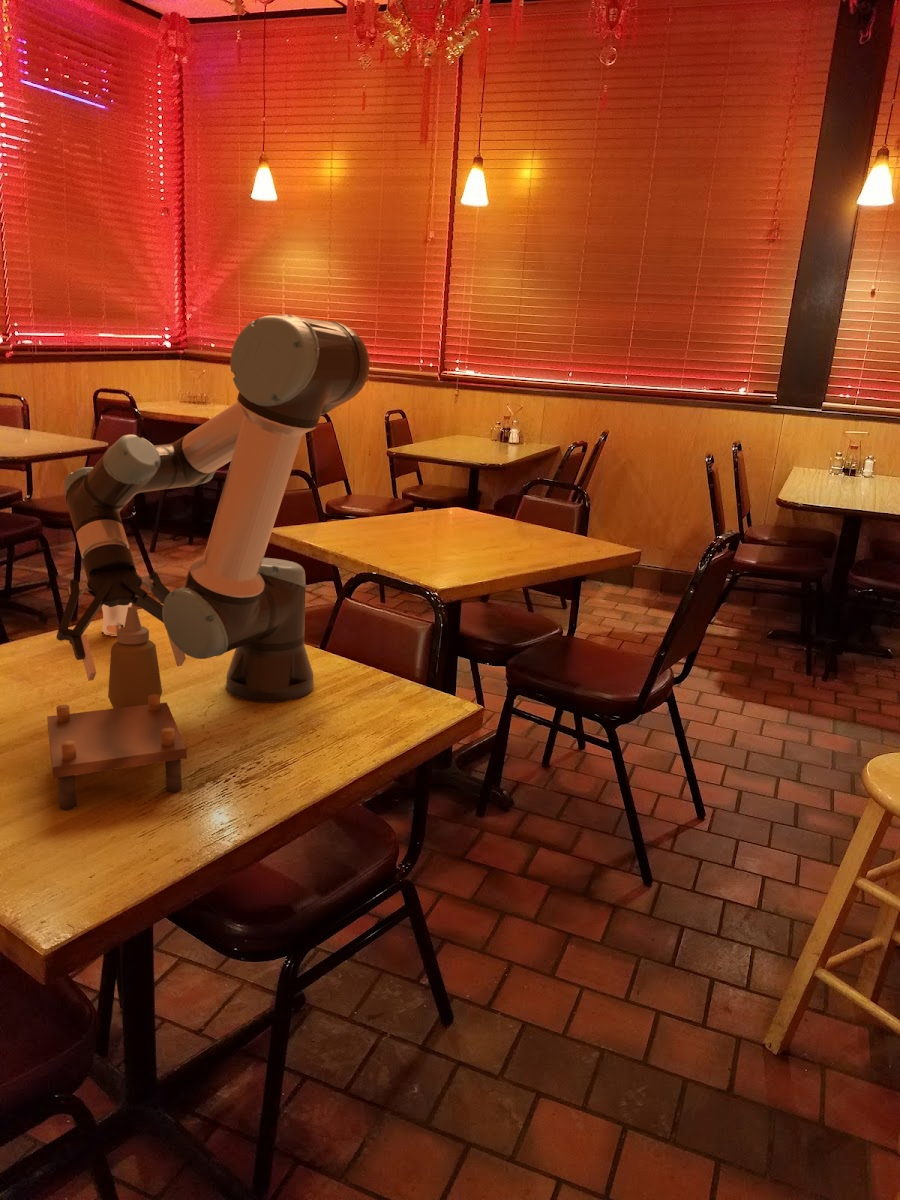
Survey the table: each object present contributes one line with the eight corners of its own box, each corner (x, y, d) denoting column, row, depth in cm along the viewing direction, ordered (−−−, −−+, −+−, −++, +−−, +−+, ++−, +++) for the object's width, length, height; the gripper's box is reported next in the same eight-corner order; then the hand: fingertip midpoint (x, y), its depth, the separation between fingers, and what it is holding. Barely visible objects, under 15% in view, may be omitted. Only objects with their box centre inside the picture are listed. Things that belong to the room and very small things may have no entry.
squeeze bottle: (134, 701, 139) (130, 597, 134) (173, 711, 136) (170, 605, 131) (97, 718, 132) (91, 609, 127) (138, 730, 129) (133, 618, 124)
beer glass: (114, 639, 167) (111, 566, 163) (92, 632, 170) (88, 560, 166) (143, 631, 173) (140, 561, 168) (121, 624, 176) (118, 555, 172)
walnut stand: (167, 742, 126) (166, 689, 123) (187, 792, 112) (186, 734, 110) (50, 758, 118) (46, 703, 116) (55, 814, 105) (51, 752, 103)
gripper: (176, 559, 147) (209, 666, 140) (20, 573, 133) (48, 693, 125) (186, 536, 142) (221, 646, 135) (25, 547, 127) (54, 672, 120)
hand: (138, 669), depth 130 cm, fingers open, 13 cm apart
